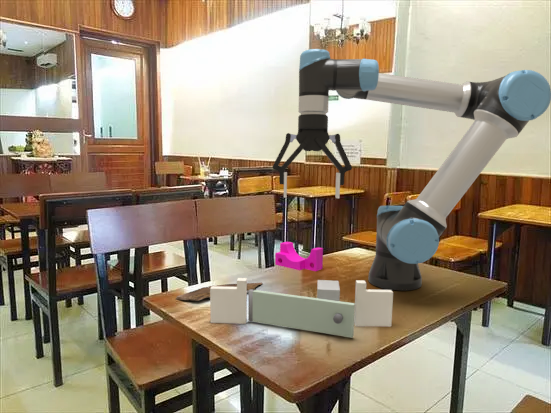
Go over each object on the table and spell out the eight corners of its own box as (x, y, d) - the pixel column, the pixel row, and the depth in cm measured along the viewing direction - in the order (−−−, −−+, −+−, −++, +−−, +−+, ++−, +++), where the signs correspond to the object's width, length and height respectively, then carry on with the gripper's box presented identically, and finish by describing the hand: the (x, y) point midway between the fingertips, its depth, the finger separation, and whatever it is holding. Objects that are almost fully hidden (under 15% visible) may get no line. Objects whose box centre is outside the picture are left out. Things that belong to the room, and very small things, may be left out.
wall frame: (389, 323, 95) (391, 281, 94) (391, 327, 93) (393, 283, 92) (211, 319, 96) (211, 277, 95) (210, 323, 94) (210, 280, 93)
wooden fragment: (183, 304, 103) (183, 300, 103) (171, 294, 113) (170, 291, 113) (273, 289, 116) (273, 285, 116) (255, 281, 126) (255, 278, 126)
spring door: (353, 335, 88) (354, 303, 87) (351, 340, 85) (352, 307, 84) (249, 318, 96) (250, 289, 95) (245, 322, 93) (245, 292, 92)
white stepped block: (337, 312, 102) (338, 280, 101) (339, 333, 90) (341, 298, 89) (316, 311, 102) (317, 279, 101) (316, 332, 90) (317, 296, 89)
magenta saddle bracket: (275, 265, 142) (275, 244, 141) (286, 262, 147) (286, 241, 146) (311, 274, 133) (312, 251, 132) (322, 270, 138) (323, 248, 137)
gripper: (359, 116, 109) (356, 196, 112) (264, 115, 110) (264, 195, 113) (365, 113, 102) (361, 199, 105) (263, 112, 102) (262, 198, 105)
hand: (311, 197), depth 109 cm, fingers open, 13 cm apart
